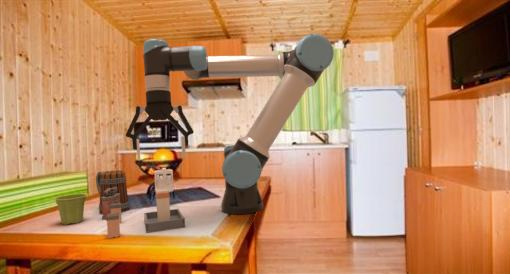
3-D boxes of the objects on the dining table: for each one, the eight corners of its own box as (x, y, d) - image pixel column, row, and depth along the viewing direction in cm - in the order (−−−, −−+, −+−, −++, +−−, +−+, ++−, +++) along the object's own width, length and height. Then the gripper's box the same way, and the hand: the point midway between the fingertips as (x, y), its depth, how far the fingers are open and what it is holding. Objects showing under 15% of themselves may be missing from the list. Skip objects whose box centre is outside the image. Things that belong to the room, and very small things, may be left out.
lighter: (108, 219, 104) (107, 190, 104) (99, 219, 105) (98, 190, 105) (123, 213, 112) (121, 186, 112) (114, 213, 113) (113, 186, 113)
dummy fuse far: (122, 220, 103) (121, 202, 103) (121, 223, 100) (120, 204, 100) (111, 222, 102) (110, 203, 101) (110, 224, 99) (110, 205, 98)
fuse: (169, 219, 99) (168, 188, 99) (170, 222, 96) (169, 190, 96) (157, 221, 98) (155, 189, 98) (158, 224, 95) (156, 191, 94)
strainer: (156, 207, 120) (155, 169, 119) (155, 204, 126) (153, 167, 126) (175, 205, 122) (173, 167, 122) (172, 202, 129) (171, 166, 129)
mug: (135, 209, 119) (133, 170, 119) (109, 215, 110) (107, 173, 110) (111, 205, 127) (109, 169, 127) (85, 211, 118) (84, 172, 118)
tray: (178, 216, 106) (178, 208, 105) (185, 227, 93) (184, 218, 92) (144, 220, 101) (144, 212, 101) (146, 232, 88) (145, 223, 88)
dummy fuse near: (120, 233, 89) (119, 212, 89) (120, 236, 86) (119, 215, 86) (108, 235, 88) (107, 214, 88) (107, 238, 85) (106, 217, 85)
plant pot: (48, 225, 101) (47, 198, 100) (74, 217, 109) (73, 193, 109) (69, 227, 97) (68, 199, 97) (94, 219, 106) (93, 194, 106)
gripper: (195, 92, 105) (199, 154, 105) (115, 92, 95) (119, 160, 96) (200, 89, 98) (203, 155, 98) (113, 88, 88) (118, 162, 89)
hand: (162, 158), depth 97 cm, fingers open, 13 cm apart
